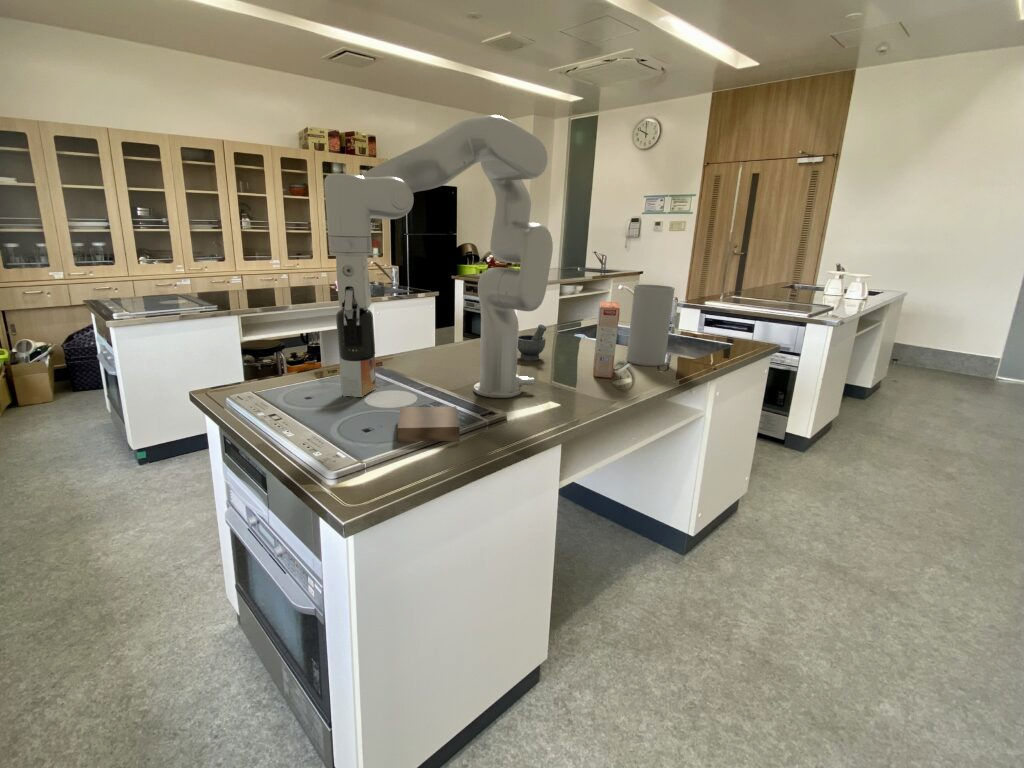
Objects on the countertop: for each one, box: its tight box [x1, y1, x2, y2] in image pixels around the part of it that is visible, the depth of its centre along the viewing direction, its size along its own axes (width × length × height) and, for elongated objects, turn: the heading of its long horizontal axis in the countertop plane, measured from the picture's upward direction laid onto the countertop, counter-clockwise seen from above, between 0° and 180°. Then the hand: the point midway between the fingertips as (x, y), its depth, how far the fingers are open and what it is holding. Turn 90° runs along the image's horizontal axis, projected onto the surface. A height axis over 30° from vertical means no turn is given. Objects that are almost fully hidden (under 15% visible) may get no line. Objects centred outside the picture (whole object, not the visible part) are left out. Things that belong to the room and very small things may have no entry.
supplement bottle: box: [335, 303, 376, 361], centre depth 99 cm, size 7×7×12 cm
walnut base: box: [397, 406, 461, 443], centre depth 106 cm, size 12×12×3 cm
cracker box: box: [593, 300, 621, 379], centre depth 154 cm, size 14×6×21 cm, turn 171°
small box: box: [338, 355, 377, 398], centre depth 127 cm, size 8×6×10 cm
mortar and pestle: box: [518, 324, 547, 362], centre depth 168 cm, size 11×9×12 cm
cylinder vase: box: [626, 284, 675, 367], centre depth 168 cm, size 12×12×25 cm
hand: (356, 341), depth 99 cm, fingers closed on supplement bottle, 6 cm apart
